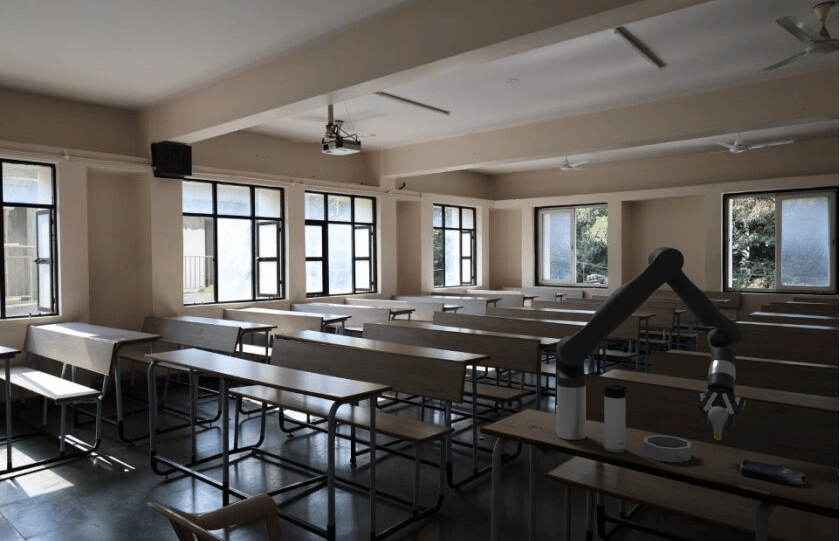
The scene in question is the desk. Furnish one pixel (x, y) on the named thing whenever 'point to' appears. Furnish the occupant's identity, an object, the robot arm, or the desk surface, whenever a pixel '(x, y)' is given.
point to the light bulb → (718, 420)
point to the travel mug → (614, 418)
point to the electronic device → (772, 473)
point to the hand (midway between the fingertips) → (717, 425)
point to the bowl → (667, 448)
